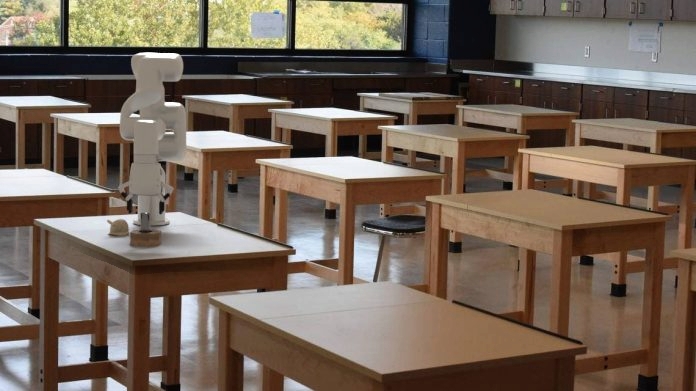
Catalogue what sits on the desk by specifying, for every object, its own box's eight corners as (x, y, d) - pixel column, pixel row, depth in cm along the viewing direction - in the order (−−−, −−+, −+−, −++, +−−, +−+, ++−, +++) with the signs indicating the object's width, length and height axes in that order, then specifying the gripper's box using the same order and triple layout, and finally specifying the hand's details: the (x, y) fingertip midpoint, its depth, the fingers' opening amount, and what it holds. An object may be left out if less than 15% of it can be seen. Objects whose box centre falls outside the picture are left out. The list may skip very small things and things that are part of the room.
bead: (133, 241, 373) (133, 228, 373) (162, 241, 373) (162, 229, 373) (128, 246, 364) (128, 233, 364) (157, 246, 364) (157, 234, 364)
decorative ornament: (132, 235, 386) (132, 219, 385) (108, 236, 381) (108, 220, 380) (127, 233, 389) (127, 217, 388) (103, 234, 384) (103, 218, 384)
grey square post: (141, 243, 370) (141, 211, 369) (150, 243, 370) (150, 212, 369) (139, 244, 367) (139, 213, 366) (149, 244, 367) (149, 213, 366)
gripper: (175, 158, 369) (174, 212, 372) (120, 157, 369) (120, 210, 372) (171, 161, 362) (171, 216, 365) (115, 160, 362) (116, 214, 364)
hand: (145, 213), depth 368 cm, fingers open, 9 cm apart
